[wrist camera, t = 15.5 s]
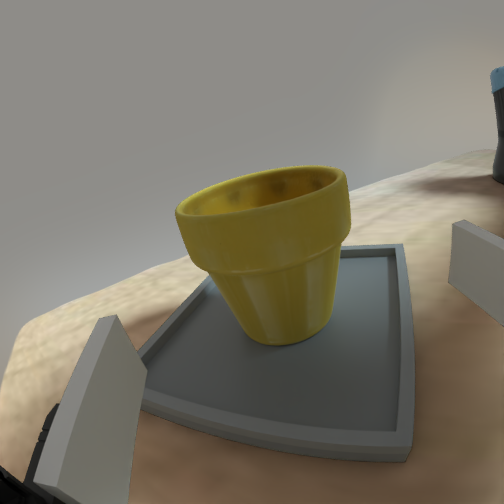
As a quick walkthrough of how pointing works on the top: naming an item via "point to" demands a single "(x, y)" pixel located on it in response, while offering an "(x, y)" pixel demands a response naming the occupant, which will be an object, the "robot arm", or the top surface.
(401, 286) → the charcoal tray
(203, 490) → the top surface
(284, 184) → the plant pot
